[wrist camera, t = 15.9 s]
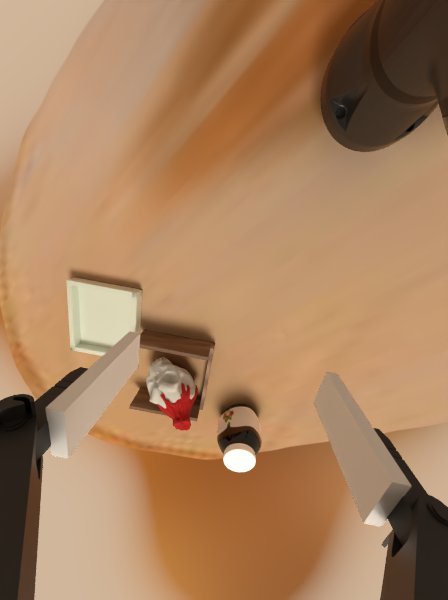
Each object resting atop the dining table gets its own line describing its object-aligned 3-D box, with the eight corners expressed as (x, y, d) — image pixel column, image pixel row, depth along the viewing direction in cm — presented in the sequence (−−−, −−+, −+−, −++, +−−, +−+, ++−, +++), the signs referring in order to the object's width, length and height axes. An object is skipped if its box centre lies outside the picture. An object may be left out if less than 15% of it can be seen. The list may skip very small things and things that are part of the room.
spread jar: (250, 398, 53) (254, 441, 42) (267, 429, 56) (275, 478, 45) (209, 412, 56) (202, 457, 45) (227, 442, 58) (225, 491, 47)
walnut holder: (144, 329, 49) (132, 342, 43) (215, 343, 49) (212, 357, 43) (140, 390, 55) (129, 408, 49) (204, 402, 55) (200, 421, 49)
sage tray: (75, 277, 46) (66, 279, 44) (142, 289, 46) (137, 293, 44) (78, 344, 51) (70, 350, 49) (138, 355, 51) (133, 361, 49)
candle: (167, 349, 47) (183, 419, 38) (195, 360, 56) (214, 419, 46) (137, 369, 48) (145, 442, 39) (169, 377, 57) (182, 438, 48)
